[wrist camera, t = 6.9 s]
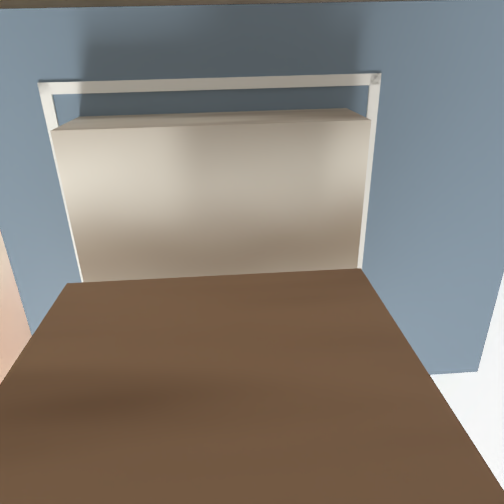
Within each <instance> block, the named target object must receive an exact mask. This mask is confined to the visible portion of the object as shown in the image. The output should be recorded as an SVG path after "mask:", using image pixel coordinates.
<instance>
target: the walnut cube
mask: <svg viewBox="0 0 504 504" xmlns="http://www.w3.org/2000/svg"><path fill="white" fill-rule="evenodd" d="M0 504H504V490H503V489H502V487H501V486H500V484H499V482H498V481H497V479H496V478H495V476H494V475H493V473H492V472H491V470H490V468H489V467H488V465H487V464H486V462H485V461H484V459H483V458H482V456H481V454H480V453H479V451H478V450H477V448H476V447H475V445H474V444H473V442H472V440H471V439H470V437H469V436H468V434H467V433H466V431H465V430H464V428H463V426H462V425H461V423H460V422H459V420H458V419H457V417H456V416H455V414H454V412H453V411H452V409H451V408H450V406H449V405H448V403H447V402H446V400H445V398H444V397H443V395H442V394H441V392H440V391H439V389H438V388H437V386H436V384H435V383H434V381H433V380H432V378H431V377H430V375H429V374H428V372H427V370H426V369H425V367H424V366H423V364H422V363H421V361H420V360H419V358H418V356H417V355H416V353H415V352H414V350H413V349H412V347H411V345H410V344H409V342H408V341H407V339H406V338H405V336H404V335H403V333H402V331H401V330H400V328H399V327H398V325H397V324H396V322H395V321H394V319H393V317H392V316H391V314H390V313H389V311H388V310H387V308H386V307H385V305H384V303H383V302H382V300H381V299H380V297H379V296H378V294H377V293H376V291H375V289H374V288H373V286H372V285H371V283H370V282H369V280H368V279H367V277H366V275H365V274H364V272H363V271H362V269H361V268H355V269H335V270H316V271H296V272H277V273H257V274H238V275H218V276H199V277H179V278H160V279H140V280H121V281H101V282H81V283H67V284H66V285H65V287H64V288H63V290H62V291H61V293H60V294H59V296H58V297H57V299H56V300H55V302H54V303H53V305H52V306H51V308H50V310H49V311H48V313H47V314H46V316H45V317H44V319H43V320H42V322H41V323H40V325H39V326H38V328H37V329H36V331H35V332H34V334H33V335H32V337H31V338H30V340H29V342H28V343H27V345H26V346H25V348H24V349H23V351H22V352H21V354H20V355H19V357H18V358H17V360H16V361H15V363H14V364H13V366H12V367H11V369H10V370H9V372H8V374H7V375H6V377H5V378H4V380H3V381H2V383H1V384H0Z"/></svg>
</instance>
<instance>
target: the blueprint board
mask: <svg viewBox="0 0 504 504" xmlns="http://www.w3.org/2000/svg"><path fill="white" fill-rule="evenodd" d="M332 108H347V109H349V110H351V111H354V112H356V113H358V114H360V115H362V116H364V117H366V118H368V119H370V120H371V129H370V139H369V150H368V160H367V171H366V181H365V192H364V202H363V213H362V223H361V234H360V244H359V255H358V265H357V268H361V269H362V271H363V272H364V274H365V275H366V277H367V279H368V280H369V282H370V283H371V285H372V286H373V288H374V289H375V291H376V293H377V294H378V296H379V297H380V299H381V300H382V302H383V303H384V305H385V307H386V308H387V310H388V311H389V313H390V314H391V316H392V317H393V319H394V321H395V322H396V324H397V325H398V327H399V328H400V330H401V331H402V333H403V335H404V336H405V338H406V339H407V341H408V342H409V344H410V345H411V347H412V349H413V350H414V352H415V353H416V355H417V356H418V358H419V360H420V361H421V363H422V364H423V366H424V367H425V369H426V370H427V372H428V374H429V375H431V374H446V373H462V372H477V371H478V367H479V363H480V359H481V356H482V352H483V348H484V344H485V340H486V337H487V333H488V329H489V325H490V321H491V318H492V314H493V310H494V306H495V302H496V299H497V295H498V291H499V287H500V283H501V280H502V276H503V272H504V0H434V1H382V2H331V3H279V4H227V5H175V6H124V7H72V8H20V9H0V230H1V234H2V237H3V240H4V244H5V247H6V250H7V254H8V257H9V260H10V264H11V267H12V270H13V274H14V277H15V281H16V284H17V287H18V291H19V294H20V297H21V301H22V304H23V307H24V311H25V314H26V317H27V321H28V324H29V327H30V331H31V334H32V335H33V334H34V332H35V331H36V329H37V328H38V326H39V325H40V323H41V322H42V320H43V319H44V317H45V316H46V314H47V313H48V311H49V310H50V308H51V306H52V305H53V303H54V302H55V300H56V299H57V297H58V296H59V294H60V293H61V291H62V290H63V288H64V287H65V285H66V284H67V283H81V282H83V277H82V273H81V268H80V264H79V259H78V255H77V250H76V246H75V241H74V237H73V232H72V228H71V223H70V219H69V214H68V209H67V205H66V200H65V196H64V191H63V187H62V182H61V178H60V173H59V169H58V164H57V160H56V155H55V151H54V146H53V141H52V137H51V132H50V131H51V130H53V129H55V128H57V127H59V126H61V125H63V124H65V123H67V122H69V121H71V120H73V119H75V118H77V117H81V116H113V115H144V114H175V113H207V112H238V111H269V110H300V109H332Z"/></svg>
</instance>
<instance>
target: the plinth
mask: <svg viewBox="0 0 504 504" xmlns="http://www.w3.org/2000/svg"><path fill="white" fill-rule="evenodd" d="M370 129H371V120H370V119H368V118H366V117H364V116H362V115H360V114H358V113H356V112H354V111H351V110H349V109H347V108H332V109H300V110H269V111H238V112H207V113H175V114H144V115H113V116H81V117H77V118H75V119H73V120H71V121H69V122H67V123H65V124H63V125H61V126H59V127H57V128H55V129H53V130H51V131H50V132H51V137H52V141H53V146H54V151H55V155H56V160H57V164H58V169H59V173H60V178H61V182H62V187H63V191H64V196H65V200H66V205H67V209H68V214H69V219H70V223H71V228H72V232H73V237H74V241H75V246H76V250H77V255H78V259H79V264H80V268H81V273H82V277H83V282H101V281H121V280H140V279H160V278H179V277H199V276H218V275H238V274H257V273H277V272H296V271H316V270H335V269H355V268H357V265H358V255H359V244H360V234H361V223H362V213H363V202H364V192H365V181H366V171H367V160H368V150H369V139H370Z"/></svg>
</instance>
